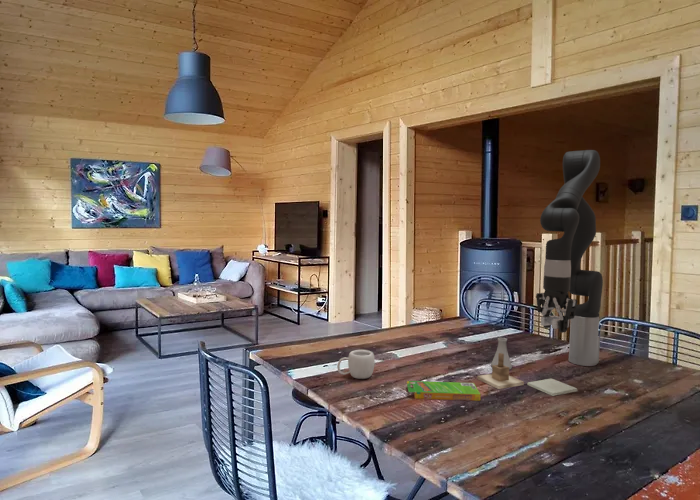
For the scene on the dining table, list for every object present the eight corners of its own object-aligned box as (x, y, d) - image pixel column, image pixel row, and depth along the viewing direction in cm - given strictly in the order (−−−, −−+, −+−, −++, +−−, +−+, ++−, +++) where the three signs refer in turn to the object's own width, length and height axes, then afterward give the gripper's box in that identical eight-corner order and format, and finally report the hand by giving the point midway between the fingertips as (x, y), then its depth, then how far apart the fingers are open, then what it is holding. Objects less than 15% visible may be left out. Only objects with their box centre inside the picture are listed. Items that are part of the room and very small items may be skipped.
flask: (513, 371, 171) (514, 342, 170) (491, 369, 172) (492, 340, 172) (511, 364, 178) (512, 336, 177) (489, 363, 180) (490, 335, 179)
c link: (554, 323, 157) (554, 315, 157) (568, 327, 152) (569, 319, 152) (540, 324, 155) (541, 316, 155) (555, 328, 150) (555, 320, 149)
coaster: (551, 380, 161) (551, 378, 161) (577, 391, 152) (577, 388, 152) (527, 384, 157) (527, 382, 157) (552, 395, 148) (552, 393, 148)
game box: (480, 404, 144) (408, 398, 145) (473, 392, 154) (406, 387, 155) (481, 394, 144) (408, 388, 145) (474, 382, 153) (406, 377, 154)
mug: (371, 371, 168) (372, 348, 167) (376, 380, 160) (377, 356, 159) (335, 373, 166) (335, 349, 166) (338, 381, 158) (339, 357, 157)
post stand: (501, 375, 166) (502, 348, 166) (523, 384, 157) (525, 356, 157) (477, 379, 162) (478, 351, 162) (498, 389, 153) (499, 360, 152)
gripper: (586, 277, 147) (583, 334, 149) (548, 271, 160) (545, 323, 162) (567, 278, 144) (564, 336, 145) (529, 272, 157) (527, 325, 158)
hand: (554, 329), depth 153 cm, fingers closed on c link, 5 cm apart
